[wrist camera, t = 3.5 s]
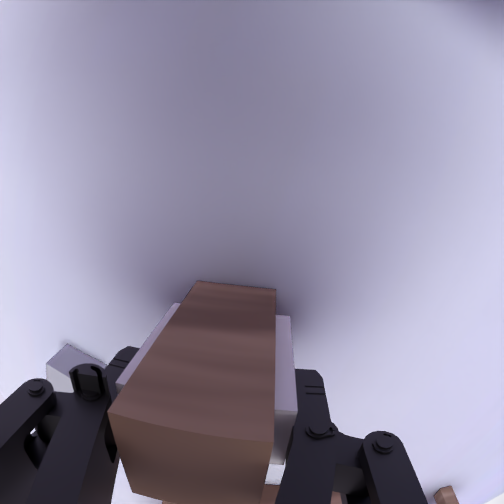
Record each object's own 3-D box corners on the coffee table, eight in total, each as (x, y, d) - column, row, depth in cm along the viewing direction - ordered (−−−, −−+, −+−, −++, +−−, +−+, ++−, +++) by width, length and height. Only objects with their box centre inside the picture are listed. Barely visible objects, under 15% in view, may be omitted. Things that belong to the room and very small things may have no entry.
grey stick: (69, 341, 18) (46, 363, 15) (108, 362, 18) (87, 388, 15) (70, 448, 22) (57, 468, 19) (99, 464, 22) (87, 485, 19)
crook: (197, 280, 16) (107, 411, 6) (411, 300, 15) (515, 417, 6) (199, 493, 21) (176, 585, 11) (330, 501, 20) (339, 592, 11)
